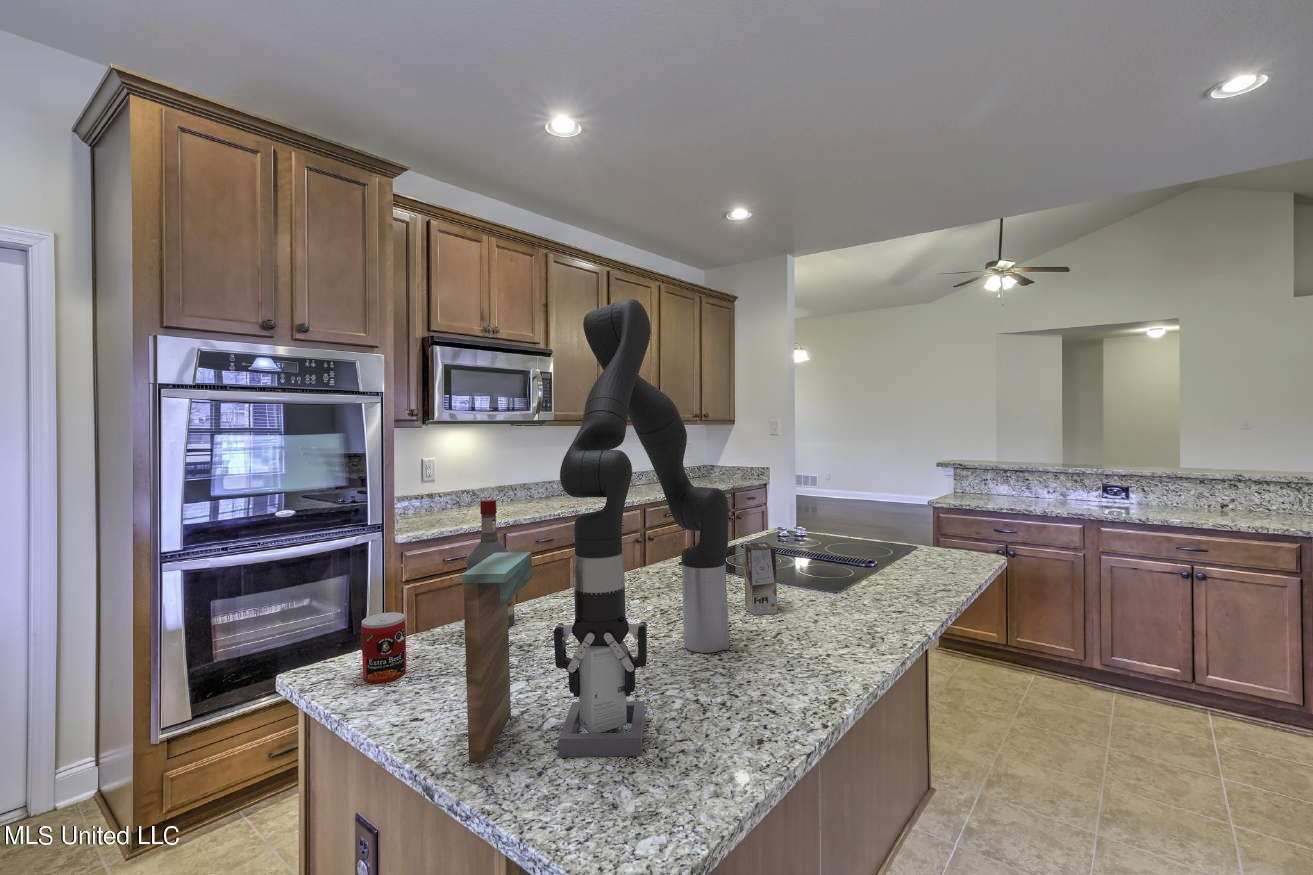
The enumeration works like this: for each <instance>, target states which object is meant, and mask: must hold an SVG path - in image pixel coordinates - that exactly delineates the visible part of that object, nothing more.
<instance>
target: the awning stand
mask: <svg viewBox="0 0 1313 875" xmlns="http://www.w3.org/2000/svg"><path fill="white" fill-rule="evenodd" d="M532 579H533V556H532V551H512V552H510V551H508V552H505V553H494V554H492V555H491V556H489V557H488V558H486V559H485V560H483V561H482V562H480V563H479V564H477V565H475V566H474V567H472V568H471V569H469V570H468V571H467V570H466V571H465V572H464V573H462V574H461V584H462V586H463V611H464V612H463V613H464V614H463V615H464V617H463V618H464V644H465V645H464V646H465V671H466V672H465V677H466V678H465V680H466V708H467V709H466V710H467V711H466V713H467V739H468V740H467V742H468V743H467V745H468V763H469V764H470V763H471V764H472V763H473V764H476V763H477V764H478V763H479V764H480V763H484V762H485V760H486V759H487V757H488V755H489V753H491V752H490V751H491V750H492V748H493V747H494V745H495V743H496V741H497V740H498V738H499V736H500V735H501V732H502V731H503V730H504V729H505V726H506V724H507V722H508V721H509V719H510V717H511V716H512V707H511V706H512V705H511V703H512V702H511V701H512V700H511V670H510V669H511V668H510V667H511V666H510V636H509V635H510V634H509V633H510V632H509V628H508V602H509V601H510V600H511V599H512V598H513V597H514V598H515V596H516V595H517V594H518V593H519V592H520V591H521V590H522V589H523V588H524V587H525V586H526V585H527V584H528V583H529V581H531V580H532Z"/></svg>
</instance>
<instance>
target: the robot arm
mask: <svg viewBox="0 0 1313 875" xmlns="http://www.w3.org/2000/svg"><path fill="white" fill-rule="evenodd" d="M582 325H583V326H582V327H583V332H584V336H585V338H586V341H587V343H588V345H589V348H590V350H591V352H592V354H593V355H594V357H595V359H596V360H597V363H598V364H599V366H601V369H602V370H603V371H602V372H601V374H600V375H599V377H598V378H597V379H596V380H595V381H594V383H593V385H592V387H591V389H590V390H589V393H588V395H587V398H586V402H585V407H584V410H583V411H584V412H583V416H582V421H581V425H580V428H579V430H578V432H577V433H576V436H575V437H574V439H573V441H572V443H571V444H570V446H569V447H568V449H567V451H566V453H565V455H564V457H563V459H562V461H561V465H560V470H559V481H560V484H561V487H562V490H563V491H564V492H565V494H567V495H568V496H569V497H572V498H581V499H582V498H585V499H587V498H606V502H605V504H604V506H603V508H602V509H600V510H597V511H593V512H589V513H588V512H587V513H584V514H582V515H579V516H578V517H576V519H575V520H574V530H573V531H574V532H573V533H574V564H573V578H572V579H573V581H572V582H573V593H574V623H573V624H564V623H561V622H560V623H557V625H556V626H555V628H554V629H553V644H554V645H553V646H554V662H555V667H556V668H557V669H559V670H560V669H565V670H566V671H567V673H568V690H569V692H570V694H573V698H576V697H577V698H579V663H580V662H581V660H582V659H583V657H584V655H585V648H589V647H590V646H608V647H611V649H612V650H613V652H614V653H615V655H616V656H617V658H618V659H619V660H620V661H621V662H622V664H623V665H624V667H625V668H626V669H625V695H626V697H631V695H632V694H631V693H634V691H635V689H636V670H637V669H638V668H644V667H645V666H646V665H647V659H648V624H647V622H645V621H640V622H639V623H629V622H628V620H627V617H626V614H627V612H626V585H625V584H626V578H625V577H626V576H625V564H624V559H623V558H624V557H623V538H622V536H623V535H622V534H623V532H622V528H623V519H624V518H623V517H624V511H625V505H626V500H627V496H628V493H629V490H630V486H631V481H632V477H633V466H632V462H631V460H630V458H629V456H628V455H627V454H626V453H625V452H624V451H622V450H618V449H616V448H618V447H619V446H621V445H622V444H623V443H624V440H625V437H626V434H627V433H626V432H627V426H628V420H629V421H630V422H631V424H632V427H633V430H634V432H635V433H636V436H637V437H638V439H639V442H640V443H641V446H642V447H643V449H644V450H645V453H646V454H647V457H648V459H649V461H650V464H652V465H651V466H652V468H653V470H654V472H655V474H656V476H657V479H658V480H659V483H660V486H661V488H662V490H663V494H664V497H665V499H666V500H665V501H666V503H667V506H668V507H669V511H670V514H671V516H672V518H673V521H675V523H676V524H677V525H678V527H680V528H681V529H684V530H688V531H695V532H699V539H698V542H697V543H696V544H695V545H692V546H689V547H686V548H685V549H683V550H682V552H681V580H682V587H681V589H682V615H683V617H682V620H683V621H682V622H683V624H682V625H683V646H684V648H685V649H686V650H689V651H692V652H695V653H703V654H704V653H707V654H708V653H715V652H721V651H724V650H725V651H728V650H730V631H729V630H730V629H729V628H730V626H729V625H730V624H729V604H728V599H727V597H728V595H727V594H728V593H727V565H726V564H727V563H726V562H727V560H726V559H727V558H726V557H727V553H728V548H729V525H730V524H729V519H730V518H729V516H730V510H729V501H728V498H727V494H726V493H725V492H724V491H723V490H722V489H721V488H718V487H708V486H707V487H706V486H694V485H693V484H692V483H691V481H690V479H689V477H688V475H687V473H686V470H685V467H684V459H685V454H686V449H687V442H688V432H687V430H686V425H685V423H684V421H683V420H682V416H681V415H680V413H679V410H678V408H677V406H676V404H675V403H674V402H673V400H672V399H671V397H669V396H668V395H667V394H666V393H665V392H663V391H661V390H660V389H659V388H657V387H655V385H653V384H651V383H650V382H648V381H647V380H645V379H644V378H643V377H641V375H639V373H640V371H641V367H642V365H643V363H644V359H645V356H646V354H647V349H648V348H649V344H650V340H651V334H652V333H651V332H652V331H651V330H652V329H651V322H650V317H649V315H648V313H647V310H646V308H645V307H644V305H642V303H641V302H640V301H639V300H637V299H634V298H627V299H626V298H625V299H621V300H618V301H616V302H613V303H610V304H607V305H604V306H601V307H599V308H596V309H593V310H592V311H589V312H587V313H586V314H585V315H584V318H583V322H582ZM629 633H630V634H631V635H632V638H633V639H634V640H636V641H637V655H636V656H633V655H632V653H631V652H630V650H629V647H628V646H627V644H626V643H625V641H624V640H625V638H626V637H627V635H628V634H629ZM570 634H572V635H573V636H574V638H575V639H576V640H577V642H578V644H581V646H580V647H579V649H578V648H577V649H576V651H575V652H574V655H572V658H571V657H568V656H567V644H566V642H567V641H568V639H569V637H570ZM621 642H623V643H624V644H625V648H624V649H622V648H621V646H620V644H621ZM584 646H585V647H584ZM581 651H582V652H581Z"/></svg>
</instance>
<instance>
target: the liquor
mask: <svg viewBox="0 0 1313 875" xmlns="http://www.w3.org/2000/svg"><path fill="white" fill-rule="evenodd" d="M479 503H480V507H479V508H480V512H479V513H480V515H481V517H480V518H481V519H480V520H481V522H480V523H481V536H480V542H478V544H477V546H475V548H474V549H473V550H472V551H471V553H470V554H469V555H468V558H467V561H466V571H468V570H469V569H471V568H472V567H474V566H475V565H477V564H479V563H480V562H482V561H483V560H485V559H486V558H488V557H489V556H491V555H492V554H494V553H505V552H509V550H508V549H507V548H506V547H505V546H503V544H502V543H501V542H500V541H499V537H498V534H497V533H498V532H497V513H498V512H497V511H498V510H497V500H496V499H484V500H480V502H479ZM515 619H516V618H515V596H514V597H513V598H512V599H511V600H510V601H509V602H508V627H509V628H510V626H511V627H513V625H514V623H515V621H516V620H515Z"/></svg>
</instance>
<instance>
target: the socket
mask: <svg viewBox="0 0 1313 875" xmlns="http://www.w3.org/2000/svg"><path fill="white" fill-rule="evenodd" d="M645 706H646V705H645V700H626V718H627V722H631V724H630V726H631V727H630V732H601V733H588V732H585V733H584V732H583V733H582V732H581V733H578V731H579V728H580V726H581V725H580V716H579V701H572V702H571V704H570V706H569V710H568V713H567V715H566V718H565V721H564V723H563V726H562V728H561V731H560V733H559V736H558V739H557V740H558V741H557V743H558V747H557V748H558V757H559V758H562V757H564V758H567V757H568V758H569V757H570V758H572V757H573V758H574V757H583V758H585V757H640V756H642V748H643V738H644V730H645V720H646V708H645Z"/></svg>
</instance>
